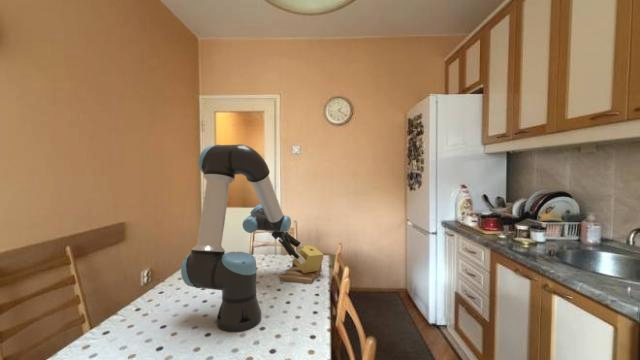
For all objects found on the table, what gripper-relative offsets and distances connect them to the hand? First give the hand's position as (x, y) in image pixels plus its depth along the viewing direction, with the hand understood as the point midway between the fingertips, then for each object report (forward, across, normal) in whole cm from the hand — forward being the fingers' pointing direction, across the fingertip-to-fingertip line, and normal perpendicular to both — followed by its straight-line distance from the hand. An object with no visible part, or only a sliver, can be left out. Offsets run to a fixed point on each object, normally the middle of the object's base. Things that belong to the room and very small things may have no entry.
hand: (305, 258), depth 149 cm
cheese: (+4, -1, -3) cm, 5 cm away
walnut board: (+5, 0, -7) cm, 9 cm away
